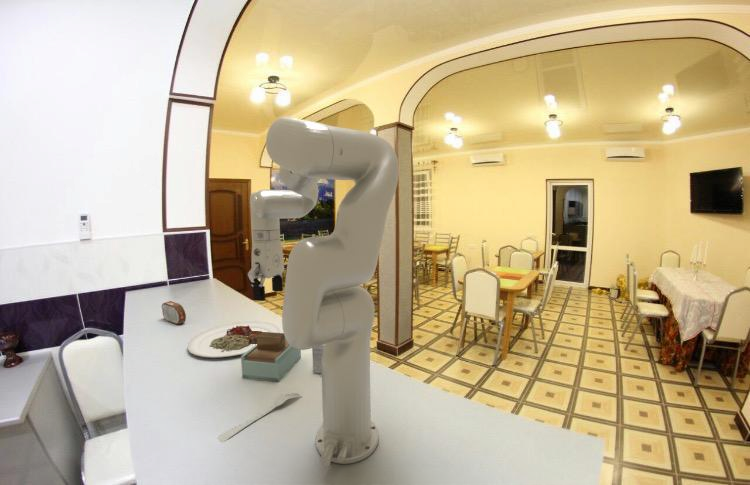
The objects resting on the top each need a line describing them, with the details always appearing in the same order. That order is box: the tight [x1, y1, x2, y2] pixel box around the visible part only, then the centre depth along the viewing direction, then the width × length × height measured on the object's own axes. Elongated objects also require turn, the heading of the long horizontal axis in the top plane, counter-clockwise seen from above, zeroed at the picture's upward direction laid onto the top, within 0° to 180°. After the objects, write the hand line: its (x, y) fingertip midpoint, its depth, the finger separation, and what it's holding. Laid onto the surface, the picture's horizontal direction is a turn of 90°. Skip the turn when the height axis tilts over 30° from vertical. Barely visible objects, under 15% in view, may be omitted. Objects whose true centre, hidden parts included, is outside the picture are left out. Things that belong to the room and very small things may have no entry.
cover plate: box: [246, 332, 290, 363], centre depth 91 cm, size 12×9×5 cm
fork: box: [216, 392, 303, 443], centre depth 71 cm, size 3×21×3 cm, turn 140°
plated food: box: [187, 320, 281, 358], centre depth 112 cm, size 30×30×3 cm
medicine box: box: [311, 344, 325, 374], centre depth 92 cm, size 8×4×9 cm, turn 168°
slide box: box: [240, 339, 302, 383], centre depth 92 cm, size 14×11×6 cm
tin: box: [161, 300, 187, 325], centre depth 131 cm, size 15×3×8 cm, turn 58°
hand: (269, 295), depth 90 cm, fingers open, 9 cm apart
